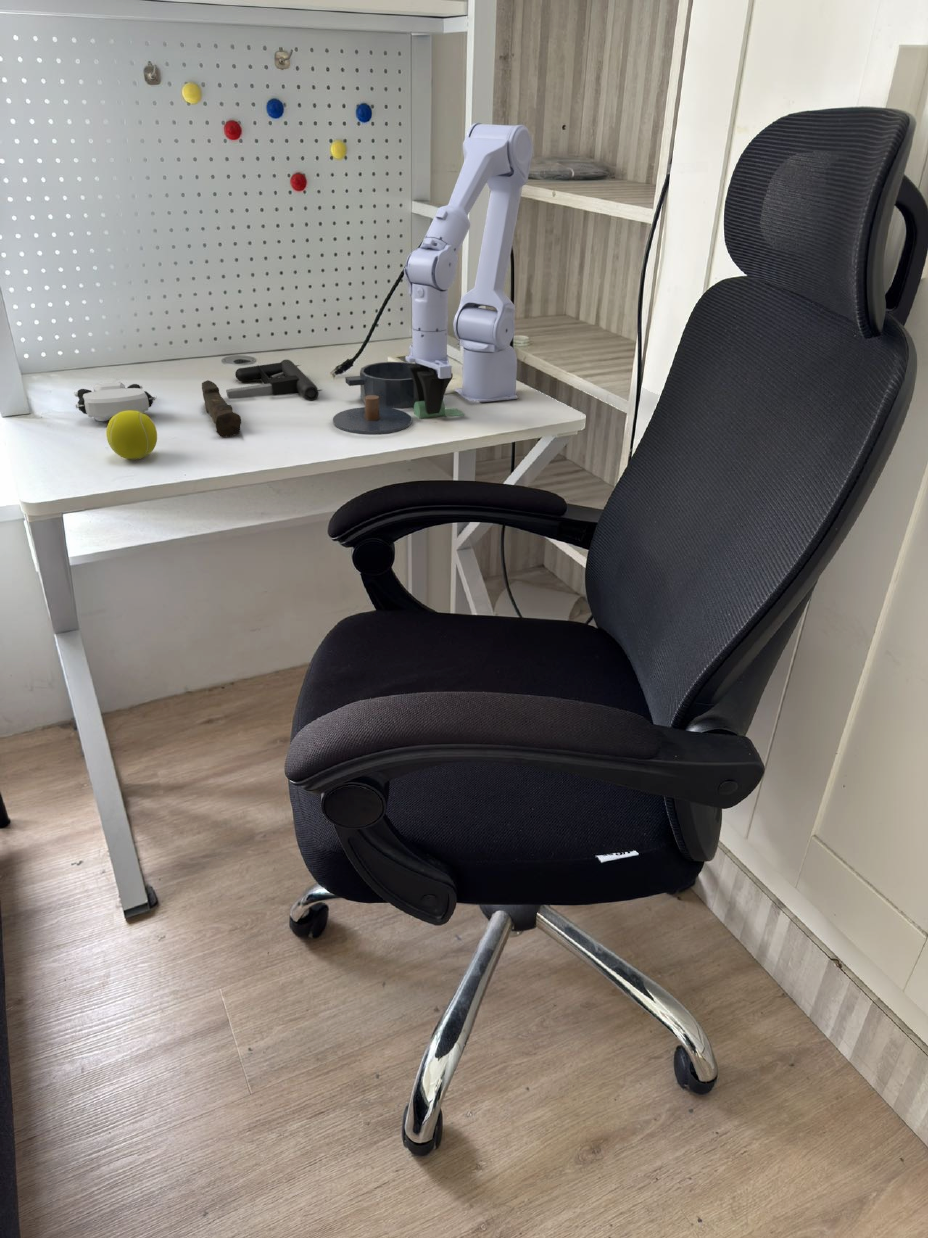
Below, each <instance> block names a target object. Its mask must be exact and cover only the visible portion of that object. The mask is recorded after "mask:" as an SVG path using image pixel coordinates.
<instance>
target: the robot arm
mask: <svg viewBox="0 0 928 1238" xmlns="http://www.w3.org/2000/svg"><path fill="white" fill-rule="evenodd" d="M462 153H463V160H464V161H463V164H462V167H461V168H460V172H459V174H458V177H457V180H456V182H455V185H454V188H453V191H452V192H451V195H450V196H451V197H450V198H449V201H448V204H446V205H442V206H440V207H439V208H438V209H437V210H436V213H435V214H434V217H433V219H432V222H431V223H430V225H429V227H428V230H427V231H426V233H425V235H424V238H423V240H422V242H421V244H420V246H419V247H417V248H415V249H414V250H413V251H411V252H410V253H408V256H407V258H406V261H405V267H404V268H403V275H404V279H405V281H406V283H407V285H408V294H409V297H410V298H411V319H412V320H411V329H412V330H411V333H412V334H411V338H412V340H411V345H409V347H408V353H409V354H408V355H405V362H408V363H415V364H410V365H407V368H408V370H409V372H410V374H411V377H412V379H413V382H414V385H415V389H416V394H417V399H418V401H425V407H426V411H427V413H428V414H435V413H439V412H440V409H441V405H442V401H443V402H444V397H445V393H446V390H447V388H448V386H449V384H450V382H451V381H452V379H453V377H454V373H453V372H452V367H453V366H452V365H451V364H450V360H449V355H448V319H449V318H448V315H449V314H448V312H449V311H448V309H449V303H448V302H449V289H450V288H451V286H452V285H453V283H454V281H455V280H456V277H457V267H458V262H459V256H458V253H459V252H460V250H461V247H462V246H463V243H464V241H465V239H466V237H467V235H468V233H469V230H470V227H471V223H470V219H469V215H470V212H471V210H472V209H473V207H474V205H475V204H476V201H477V200H478V198H479V196H480V194H481V193H482V191H483V189H484V188H485V186H486V184H487V186H488V188H489V192H490V193H489V198H488V204H487V210H486V217H485V222H484V230H483V234H482V240H481V246H480V252H479V259H478V264H477V269H476V276H475V283H474V287H473V288H471V289H470V290H468V291H467V292H466V293H465V294H463V295H461V297H460V302H459V306H458V308H457V311H456V313H455V315H454V317H453V325H452V327H453V334H454V337H455V338H456V339H457V341H459V347H462V379H461V381H462V385H461V388H454V391H455V392H456V393H458V394H459V395H460V396H461V397H463V398H464V399H466V400H467V401H468V402H479V403H487V402H498V401H507V400H508V401H509V400H517V399H518V395H516V394H517V374H518V358H517V354H516V351H515V349H514V348H513V346H511V345H509V344H511V342H512V341H513V339H514V336H515V331H516V324H515V323H516V322H515V314H516V306H515V304H514V303H513V301H512V300H511V299H510V298H509V296H508V295H507V294H506V293H505V287H506V281H507V277H508V272H509V271H508V270H509V264H510V260H511V254H512V248H513V243H514V237H515V232H516V225H517V219H518V215H519V208H520V202H521V198H522V197H521V196H522V192H523V187H524V186H525V185H526V184H528V180H529V175H530V169H531V163H532V158H533V153H534V144H533V141H532V136H531V133H530V131H529V128H527V126H526V125H524V124H517V125H512V124H511V125H510V124H509V125H508V124H490V123H489V124H488V123H481V122H474V123H472V124H471V125H470V126H469V128H468V130H467V132H466V135H465V138H464V140H463V142H462ZM483 307H487V308H483ZM489 307H490V308H495V310H494V309H489Z"/></svg>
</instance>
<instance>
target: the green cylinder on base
mask: <svg viewBox="0 0 928 1238" xmlns="http://www.w3.org/2000/svg"><path fill="white" fill-rule="evenodd" d="M413 414H414V416H416V417H417V418H418V419H426V418H437V417H445V418H449V417H451V418H452V417H459V416H465V413H463V412H462V410H459V408H457V407H453V408H451V407H450V408H446V405H445V402H444V400H443V401H442V405H441V409H440V412H439V413H435V414H428V413H427V411H426V407H425V401H418V402H415V404H414V407H413Z"/></svg>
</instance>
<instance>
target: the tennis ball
mask: <svg viewBox="0 0 928 1238" xmlns="http://www.w3.org/2000/svg"><path fill="white" fill-rule="evenodd" d="M157 431H158V430H157V427H156V425H155V423H154V422H153V420H152V419H151V417H149V415H147V414H145V413H144V412H143V413H142V412H139V411H133V410H128V411H122V412H119V413H118V414H116V415H114V416H113V417H112V418H111V419H110V420H108V424H107V426H106V440H107V443H108V446H109V447H110V449H111V450H112V451H113V453H115V454H116V455H117V456H119V457H121V458H123V459H126V460H140V459H143V458H145V457H147V456H149V455H150V454H151V453H152V452H153V451H154V449H155V448H156V445H157V441H158V432H157Z"/></svg>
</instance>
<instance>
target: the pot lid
mask: <svg viewBox="0 0 928 1238" xmlns="http://www.w3.org/2000/svg"><path fill="white" fill-rule="evenodd" d="M364 399H365V403H364V406H363V407H355V408H354V407H353V408H348V409H344V410H342V411H339V412H337V413H335V415H333V418H332V424H333V425H334V426H335V427H336V428H337V429H339V430H341V431H343V432H348V433H353V434H360V435H382V434H390V433H395V432H400V431H402V430H405V429H407V428H409V427H410V426H411V424H412V421H413V420H412V416H411V415H410V414H409V413H407V412H405V411H403V410H400V409H395V408H384V407H379V396H376V395H368V396H365V397H364Z"/></svg>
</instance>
